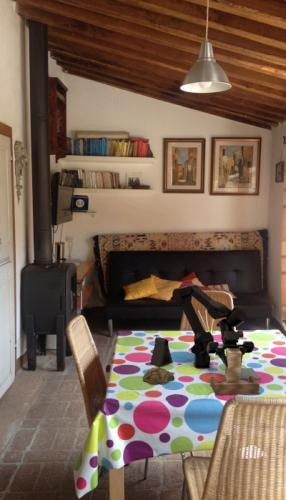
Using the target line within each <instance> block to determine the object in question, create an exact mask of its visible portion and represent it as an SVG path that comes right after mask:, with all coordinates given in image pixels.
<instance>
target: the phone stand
mask: <svg viewBox="0 0 286 500" xmlns="http://www.w3.org/2000/svg"><path fill="white" fill-rule="evenodd" d="M149 363H150V364H149V365H152V366H155V367H159V368H163V367H165V366H167V365H171V364H173V363H174V361H173V358H172V355H171V350H170V346H169V340H168V339H167V338H163V337H160V336H156V337H155V339H154V347H153V350H152V354H151V358H150V362H149Z"/></svg>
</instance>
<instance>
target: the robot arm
mask: <svg viewBox="0 0 286 500" xmlns="http://www.w3.org/2000/svg"><path fill="white" fill-rule="evenodd" d="M171 294H172V298H173V300H174V302H175V303H176V304H177V305H179V306H180V307H181V308H182V311H183V313H184V315H185V317H186V319H187V321H188V323H189V327H190V329H191V330H192V332H193V335H194V336H193V342H194V345H193V346H192V347H190V352H191V354H193V355H194V356H193V360H194V361H193V365H194V367H195V368H196V369H203V368H204V369H205V368H207V369H209V368H211V366H210V365H211V354H214V355H215V356H217V357H218V358H219V359H220V360H221V362H222V363H223V364H224V367H225V366H226V367H228V363H227V359H226V348H238V349H239V350H240V351H241V353H242V354H241V366H242V364H243V357H244V355H245V354H251V353H253V351H254V349H255V343H254V342H253V341H251V340H250V341H249V340H247V341H243V343H242V344H238V343H239V340H240V339H243V338H244V331H243V329H238V330H237V331H236V330H235V328H237V327H239V326H240V325H241V324H243V323H244V322H245V321H246V320H247V318H248V317H247V316H248V315H247V314H246V312H245V311H244V310H243V309H240V308H239V306H234V307H233V308H232V309H230V308H228V306H227V305H226V304H224V303H222V302H220V301H216V300H215V299H213V298H212V297H211V296H210V295H208V294H207V293H206V292H204V291H203V290H202V289H201V288H200V287H199V285H197V284H191V285H188V286H182V287H176V288H173V290H172V293H171ZM193 298H194V299H195V300H196V301H197V302H199V304H201V305H202V306H203V307H204V308H205V309H206V311H207V314H208V315H209V316H210V317H211V318H212V320H214V321H215V320H218V321H217V322H216V327H218V328H219V331H220V335H221V337H220V338H221V341H222V343H219V341H215V339H214V336H213V335H212V332H210V331H206V330H205V328H204V326H203V325H202V323H201V320H200V318H199V316H198V314H197V312H196V310H195V308H194V305H193V304H192V300H193ZM220 319H221V320H220Z"/></svg>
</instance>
